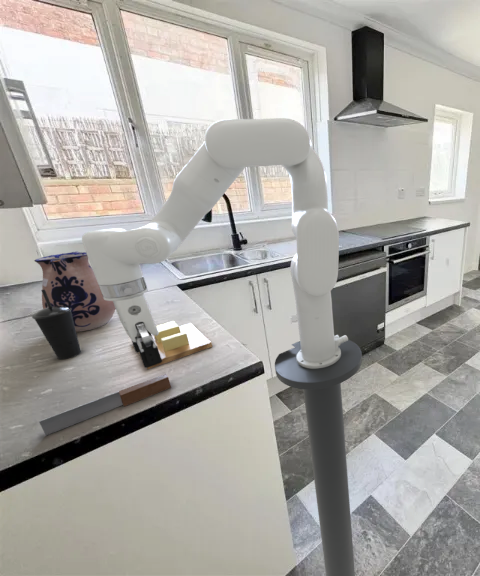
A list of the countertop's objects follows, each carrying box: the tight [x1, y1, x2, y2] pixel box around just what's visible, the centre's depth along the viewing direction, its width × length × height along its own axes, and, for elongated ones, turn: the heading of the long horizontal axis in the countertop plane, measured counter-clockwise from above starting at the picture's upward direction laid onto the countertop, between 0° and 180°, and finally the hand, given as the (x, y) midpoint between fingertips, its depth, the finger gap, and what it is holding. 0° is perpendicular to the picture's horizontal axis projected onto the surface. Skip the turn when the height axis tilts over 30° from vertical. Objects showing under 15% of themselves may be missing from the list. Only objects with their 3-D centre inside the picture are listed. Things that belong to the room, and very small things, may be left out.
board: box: [137, 322, 213, 370], centre depth 93 cm, size 16×20×2 cm
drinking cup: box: [31, 289, 82, 360], centre depth 86 cm, size 8×8×20 cm
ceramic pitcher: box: [33, 250, 116, 333], centre depth 104 cm, size 18×21×25 cm
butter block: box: [154, 320, 181, 343], centre depth 95 cm, size 6×6×4 cm
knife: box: [38, 373, 172, 436], centre depth 67 cm, size 21×2×4 cm, turn 136°
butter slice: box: [161, 331, 189, 352], centre depth 89 cm, size 6×2×4 cm, turn 136°
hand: (148, 357), depth 71 cm, fingers open, 9 cm apart
